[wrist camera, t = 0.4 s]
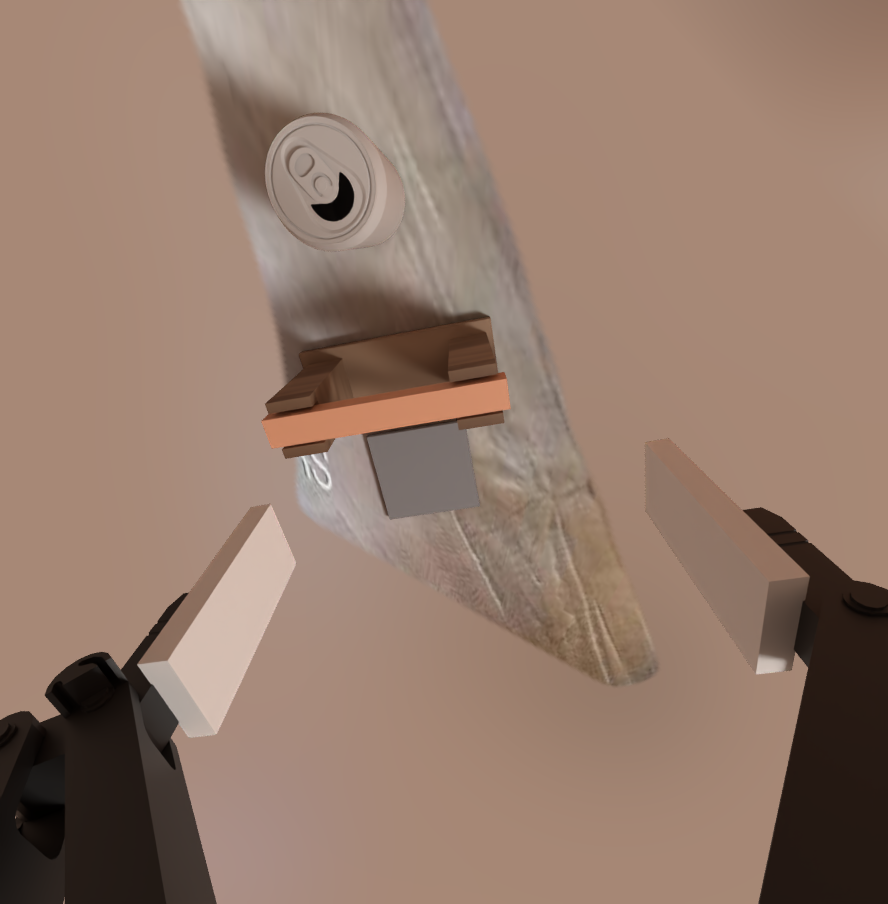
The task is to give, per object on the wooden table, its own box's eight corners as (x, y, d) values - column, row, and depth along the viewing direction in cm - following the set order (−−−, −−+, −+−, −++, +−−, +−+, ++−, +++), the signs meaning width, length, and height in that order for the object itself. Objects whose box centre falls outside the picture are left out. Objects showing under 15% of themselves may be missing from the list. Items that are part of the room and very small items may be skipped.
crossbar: (269, 413, 31) (261, 421, 30) (504, 372, 30) (506, 378, 28) (279, 439, 32) (271, 448, 31) (508, 401, 30) (510, 408, 29)
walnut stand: (302, 351, 39) (252, 390, 29) (489, 316, 37) (502, 345, 28) (323, 416, 41) (283, 472, 32) (499, 386, 40) (513, 435, 30)
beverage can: (364, 265, 36) (325, 279, 25) (301, 195, 34) (230, 177, 23) (424, 203, 34) (410, 189, 23) (361, 125, 32) (314, 70, 21)
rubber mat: (367, 435, 42) (366, 437, 42) (464, 419, 41) (464, 421, 41) (390, 516, 46) (389, 519, 45) (479, 503, 45) (479, 506, 45)
